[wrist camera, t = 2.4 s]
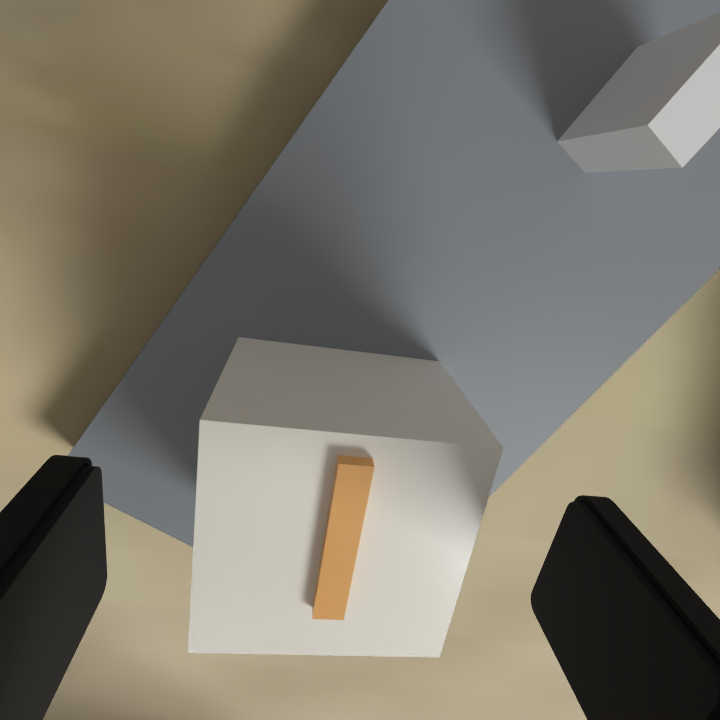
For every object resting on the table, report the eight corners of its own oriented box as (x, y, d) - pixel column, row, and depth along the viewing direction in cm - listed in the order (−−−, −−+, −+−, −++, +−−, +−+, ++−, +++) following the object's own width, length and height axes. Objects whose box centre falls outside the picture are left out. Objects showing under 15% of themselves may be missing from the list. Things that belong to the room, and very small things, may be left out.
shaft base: (352, 596, 19) (366, 729, 14) (76, 450, 15) (-25, 564, 11) (847, 92, 14) (1118, 45, 9) (606, -300, 10) (848, -697, 6)
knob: (401, 520, 16) (442, 668, 11) (225, 509, 15) (184, 665, 10) (439, 361, 14) (509, 455, 9) (238, 336, 13) (196, 427, 8)
